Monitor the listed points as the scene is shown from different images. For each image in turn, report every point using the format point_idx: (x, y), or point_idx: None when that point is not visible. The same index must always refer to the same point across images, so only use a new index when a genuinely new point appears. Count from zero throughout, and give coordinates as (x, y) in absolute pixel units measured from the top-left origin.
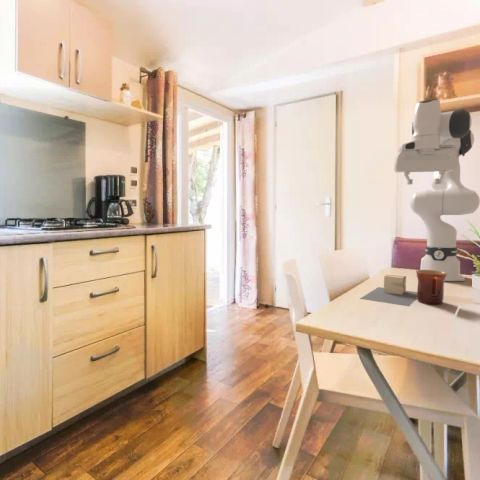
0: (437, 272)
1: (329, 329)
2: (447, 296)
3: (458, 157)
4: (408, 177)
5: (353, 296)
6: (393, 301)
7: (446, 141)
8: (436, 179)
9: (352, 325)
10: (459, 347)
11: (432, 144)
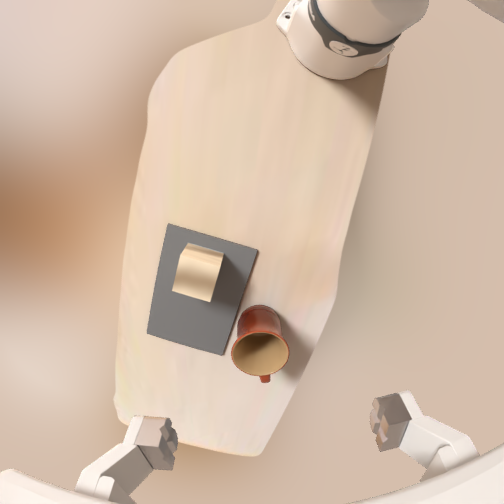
0: (276, 336)
1: None
2: (305, 252)
3: None
4: (135, 480)
5: (133, 310)
6: (199, 336)
7: None
8: (380, 443)
9: None
10: (255, 443)
11: None
